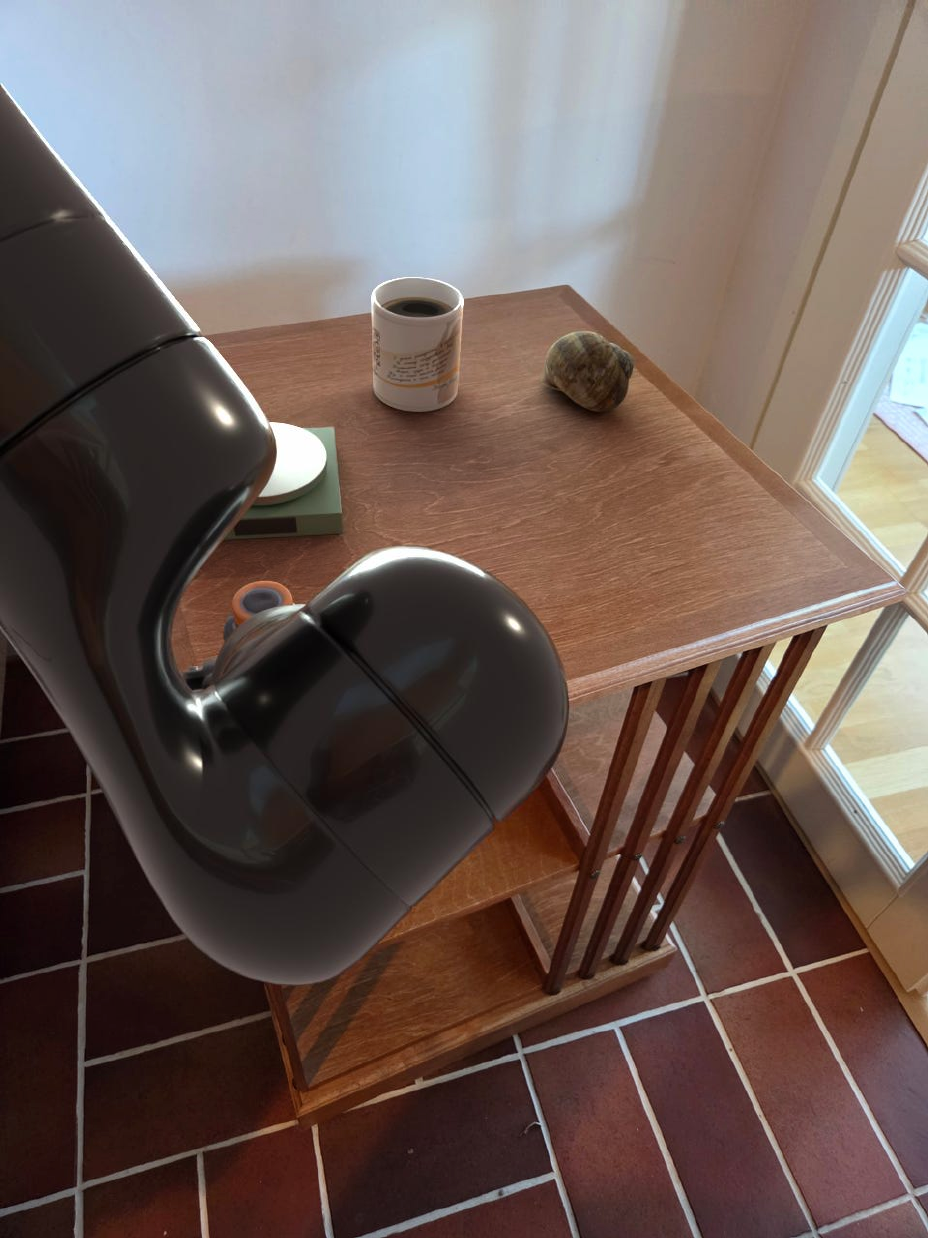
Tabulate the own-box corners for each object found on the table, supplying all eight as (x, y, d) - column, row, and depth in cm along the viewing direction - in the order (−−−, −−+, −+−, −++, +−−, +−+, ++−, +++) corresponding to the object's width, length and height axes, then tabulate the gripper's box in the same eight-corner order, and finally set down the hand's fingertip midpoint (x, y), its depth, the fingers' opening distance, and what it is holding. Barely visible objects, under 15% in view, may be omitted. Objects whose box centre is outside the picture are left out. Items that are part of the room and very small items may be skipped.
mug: (353, 398, 94) (349, 304, 86) (396, 350, 102) (396, 260, 94) (439, 420, 92) (443, 326, 84) (476, 370, 100) (483, 280, 92)
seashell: (638, 419, 95) (654, 355, 89) (562, 428, 93) (573, 363, 87) (599, 369, 102) (611, 306, 96) (528, 376, 100) (536, 313, 94)
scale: (188, 542, 76) (180, 508, 73) (198, 452, 85) (191, 418, 82) (343, 534, 78) (341, 500, 75) (335, 447, 88) (333, 414, 85)
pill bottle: (310, 666, 67) (299, 562, 58) (324, 724, 63) (314, 622, 55) (234, 681, 65) (211, 576, 57) (244, 742, 61) (222, 639, 53)
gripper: (442, 575, 37) (379, 586, 53) (107, 639, 34) (146, 630, 49) (473, 738, 38) (401, 701, 53) (145, 818, 34) (172, 754, 50)
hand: (279, 667), depth 51 cm, fingers open, 8 cm apart
